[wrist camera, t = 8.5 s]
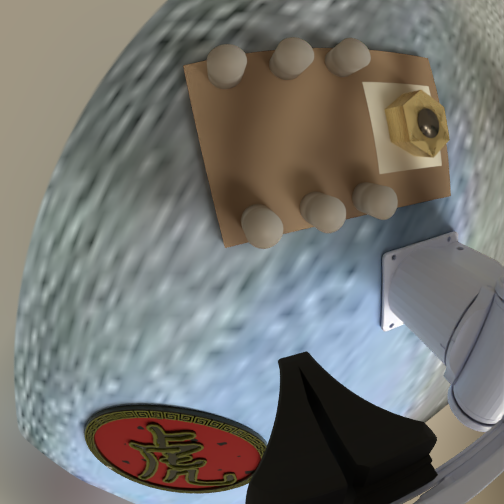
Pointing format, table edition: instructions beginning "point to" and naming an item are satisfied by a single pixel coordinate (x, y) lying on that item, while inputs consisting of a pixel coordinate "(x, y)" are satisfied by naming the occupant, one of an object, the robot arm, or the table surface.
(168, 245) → the table surface
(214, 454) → the decorative plate
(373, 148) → the board
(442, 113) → the brass nut
